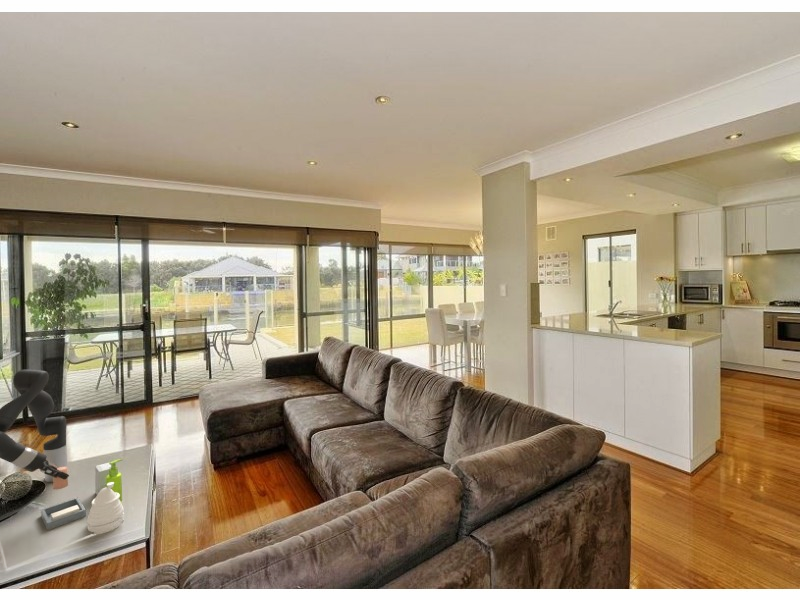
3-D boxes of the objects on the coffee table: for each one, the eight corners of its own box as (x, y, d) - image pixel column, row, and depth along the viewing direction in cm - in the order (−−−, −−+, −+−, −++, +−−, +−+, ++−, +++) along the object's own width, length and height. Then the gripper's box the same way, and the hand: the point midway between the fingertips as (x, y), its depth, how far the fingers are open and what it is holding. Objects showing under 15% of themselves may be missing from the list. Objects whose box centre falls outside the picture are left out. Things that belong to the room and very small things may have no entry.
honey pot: (122, 512, 179) (120, 474, 178) (126, 525, 170) (124, 485, 168) (86, 523, 170) (84, 484, 169) (88, 538, 161) (87, 497, 160)
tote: (41, 518, 174) (40, 509, 174) (78, 505, 184) (77, 497, 184) (47, 532, 164) (47, 523, 164) (86, 517, 174) (85, 509, 174)
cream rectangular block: (51, 522, 169) (50, 513, 169) (77, 513, 176) (77, 504, 176) (53, 526, 167) (52, 517, 166) (79, 516, 174) (79, 508, 173)
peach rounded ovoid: (52, 486, 175) (51, 469, 174) (66, 482, 179) (66, 465, 178) (54, 490, 172) (53, 473, 171) (69, 486, 175) (68, 469, 175)
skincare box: (95, 494, 193) (94, 465, 192) (109, 489, 197) (108, 461, 196) (99, 501, 187) (98, 471, 186) (114, 495, 192) (113, 467, 191)
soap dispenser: (127, 498, 190) (125, 459, 189) (112, 506, 183) (111, 465, 182) (118, 496, 192) (117, 457, 191) (104, 503, 185) (102, 463, 184)
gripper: (39, 455, 164) (76, 472, 174) (34, 446, 173) (69, 462, 183) (22, 472, 160) (61, 488, 170) (17, 462, 169) (55, 477, 179)
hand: (65, 475), depth 176 cm, fingers closed on peach rounded ovoid, 5 cm apart
